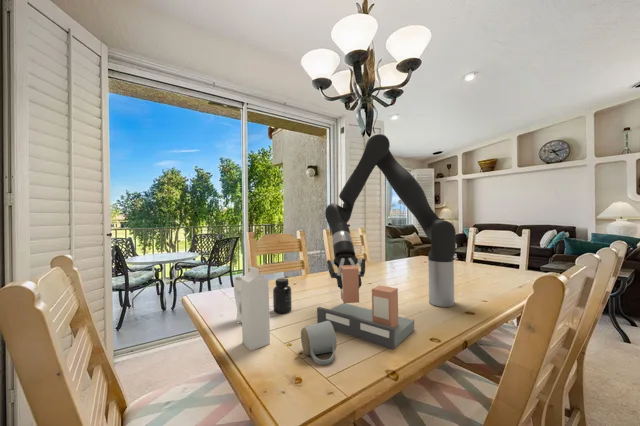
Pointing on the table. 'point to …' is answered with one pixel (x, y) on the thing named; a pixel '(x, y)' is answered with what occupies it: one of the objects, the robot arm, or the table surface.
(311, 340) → the ceramic mug
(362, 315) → the display shelf
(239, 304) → the beer glass
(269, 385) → the table surface
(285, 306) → the supplement bottle
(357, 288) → the tea box
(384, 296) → the tea box
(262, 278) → the milk
